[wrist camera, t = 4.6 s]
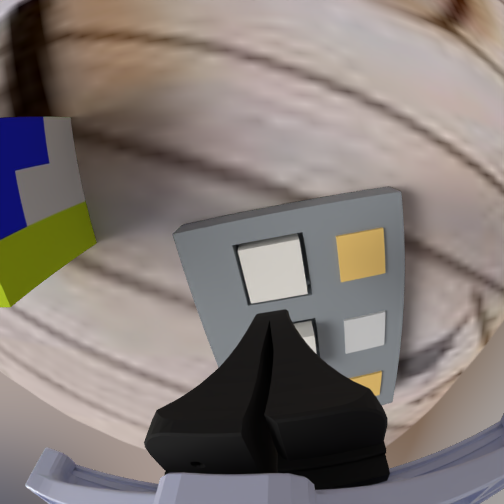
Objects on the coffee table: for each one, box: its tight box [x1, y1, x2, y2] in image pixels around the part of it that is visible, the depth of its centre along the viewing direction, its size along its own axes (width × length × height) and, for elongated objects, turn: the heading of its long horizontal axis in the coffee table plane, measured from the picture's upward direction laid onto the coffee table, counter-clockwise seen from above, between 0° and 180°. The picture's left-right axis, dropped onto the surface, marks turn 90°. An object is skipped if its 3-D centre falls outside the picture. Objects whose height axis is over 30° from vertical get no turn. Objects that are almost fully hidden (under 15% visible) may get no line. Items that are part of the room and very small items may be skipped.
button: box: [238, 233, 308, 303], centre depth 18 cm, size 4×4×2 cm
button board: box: [173, 187, 405, 405], centre depth 20 cm, size 19×14×2 cm
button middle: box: [294, 321, 317, 354], centre depth 19 cm, size 4×4×2 cm
